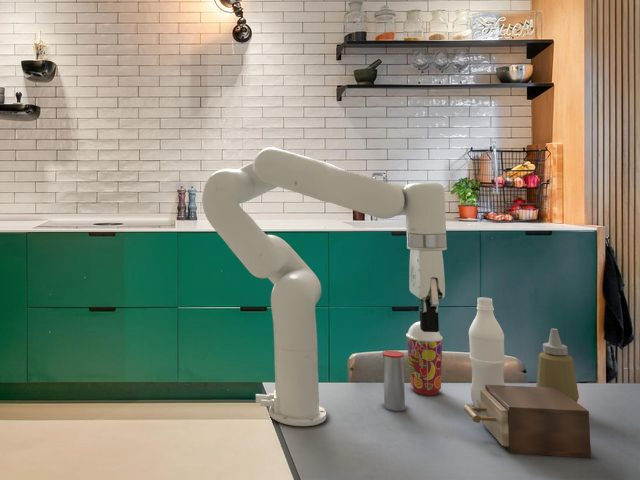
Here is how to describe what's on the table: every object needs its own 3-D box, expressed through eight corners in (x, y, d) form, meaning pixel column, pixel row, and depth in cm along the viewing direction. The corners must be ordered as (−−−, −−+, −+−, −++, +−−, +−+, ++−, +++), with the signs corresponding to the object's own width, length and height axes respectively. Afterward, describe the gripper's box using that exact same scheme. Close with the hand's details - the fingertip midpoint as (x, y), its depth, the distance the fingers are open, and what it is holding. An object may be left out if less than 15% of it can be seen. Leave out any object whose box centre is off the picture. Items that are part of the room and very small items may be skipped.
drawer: (478, 444, 109) (477, 408, 109) (459, 421, 120) (458, 388, 120) (575, 450, 105) (573, 413, 106) (546, 425, 117) (545, 392, 117)
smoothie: (403, 385, 145) (401, 306, 146) (438, 386, 144) (435, 307, 144) (413, 396, 136) (410, 313, 137) (449, 398, 135) (446, 314, 136)
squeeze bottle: (575, 405, 129) (571, 326, 130) (584, 418, 122) (580, 334, 123) (533, 400, 133) (530, 323, 133) (539, 413, 125) (536, 331, 126)
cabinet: (511, 452, 107) (509, 406, 107) (486, 425, 119) (484, 384, 120) (591, 457, 104) (588, 410, 105) (557, 429, 117) (555, 387, 117)
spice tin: (386, 410, 128) (384, 355, 129) (382, 403, 133) (380, 350, 133) (407, 411, 127) (405, 356, 128) (403, 404, 132) (401, 350, 132)
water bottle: (512, 416, 124) (508, 302, 125) (477, 414, 125) (473, 301, 126) (500, 404, 131) (496, 296, 132) (466, 402, 132) (462, 295, 133)
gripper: (399, 239, 125) (402, 322, 124) (416, 245, 110) (419, 339, 110) (435, 239, 124) (438, 323, 123) (457, 245, 109) (460, 341, 108)
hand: (429, 330), depth 116 cm, fingers closed
